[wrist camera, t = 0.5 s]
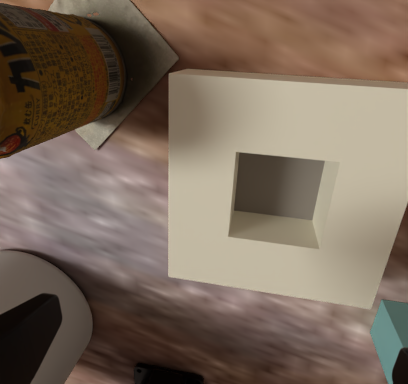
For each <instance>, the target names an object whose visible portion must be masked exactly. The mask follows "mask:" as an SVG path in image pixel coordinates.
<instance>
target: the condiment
mask: <svg viewBox="0 0 408 384" xmlns="http://www.w3.org/2000/svg"><path fill="white" fill-rule="evenodd" d="M95 12H98V13H99V15H98V16H94V15H93V13H95ZM87 14H91V15H92V16H91V17H88V16H87ZM178 59H179V57H178V56H177V55H176V53H175V52H174V51H173V50H172V49H171V48H170V47H169V45H168V44H167V43H166V41H165V40H164V39H163V38H162V37H161V36H160V35H159V33H158V32H157V31H156V30H155V29H154V28H153V27H152V26H151V24H150V23H149V22H148V21H147V20H146V18H145V17H144V16H143V15H142V14H141V13H140V12H139V10H138V9H137V8H136V7H135V6H134V5H133V4H132V3H131V1H130V0H54V2H53V3H52V5H51V6H50V8H49V10H48V11H46V10H41V9H32V8H25V7H20V6H13V5H8V4H4V3H0V159H1V158H7V157H10V156H11V155H13V154H15V153H18V152H20V151H22V150H25V149H27V148H30V147H32V146H35V145H38V144H40V143H43V142H45V141H48V140H50V139H53V138H55V137H58V136H60V135H62V134H65V133H67V132H70V131H72V130H75V131H76V132H77V133H78V134H79V135H80V136H81V137H82V138H83V139H84V140H85V141H86V142H87V143H88V144H89V145H90V146H91V147H92V148H93V149H94V150H96V149H97V148H98V147H99V146H100V145H101V144H102V143H103V141H104V140H105V139H106V138H107V137H108V136H109V135H110V134H111V133H112V132H113V131H114V129H115V128H116V127H117V126H118V125H119V124H120V123H121V122H122V121H123V120H124V119H125V117H126V116H127V115H128V114H129V113H130V112H131V111H132V110H133V109H134V108H135V107H136V105H137V104H138V103H139V102H140V101H141V100H142V98H143V97H144V96H145V95H146V94H147V93H148V92H149V91H150V90H151V89H152V88H153V87H154V86H155V85H156V84H157V83H158V81H159V80H160V79H161V78H162V77H163V76H164V74H165V73H166V72H167V71H168V70H169V69H170V68H171V67H172V66H173V65H174V63H175V62H176V61H177V60H178ZM131 78H133V81H132V80H131Z"/></svg>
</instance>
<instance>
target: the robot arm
mask: <svg viewBox="0 0 408 384" xmlns="http://www.w3.org/2000/svg"><path fill="white" fill-rule="evenodd" d="M61 323H62V311H61V306H60V301H59V297H58V296H57V295H56V294H51V293H41V294H39V295H37V296H35V297H33V298H31V299H29V300H27V301H25V302H23V303H22V304H20V305H18V306H16V307H14V308H12V309H10V310H8V311H6V312H4V313H2V314H0V384H31V382H32V380H33V379H34V377H35V375H36V373H37V371H38V369H39V367H40V365H41V363H42V361H43V360H44V358H45V356H46V354H47V352H48V350H49V348H50V346H51V344H52V342H53V340H54V338H55V336H56V334H57V332H58V330H59V328H60V326H61ZM134 379H135V384H204V378H203V377H202V376H200V375H195V374H190V373H185V372H180V371H176V370H171V369H166V368H161V367H156V366H151V365H146V364H141V363H138V364H136V365H135V368H134ZM392 381H393V384H408V348H407V347H403V348H401V349H400V351H399V353H398V356H397V359H396V362H395V364H394V367H393V370H392Z"/></svg>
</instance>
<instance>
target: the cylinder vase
mask: <svg viewBox="0 0 408 384" xmlns="http://www.w3.org/2000/svg"><path fill="white" fill-rule="evenodd" d="M41 293H51V294H56V295H57V296H58V297H59V301H60V306H61V311H62V323H61V326H60V328H59V330H58V332H57V334H56V336H55V338H54V340H53V342H52V344H51V346H50V348H49V350H48V352H47V354H46V356H45V358H44V360H43V361H42V363H41V365H40V367H39V369H38V371H37V373H36V375H35V377H34V379H33V380H32V382H31V384H64V383H65V381H66V380H67V378H68V377H69V375H70V373H71V372H72V370H73V368H74V367H75V365H76V363H77V362H78V360H79V358H80V357H81V355H82V354H83V352H84V350H85V349H86V347H87V345H88V343H89V341H90V339H91V335H92V330H93V320H92V314H91V310H90V307H89V305H88V302H87V300H86V298H85V297H84V295H83V293H82V292H81V290H80V289H79V288H78V287H77V285H76V284H75V283H74V282H73V281H72V280H71V279H70V278H69V277H68V276H67V275H66V274H65V273H64V272H62V271H61V270H60V269H58V268H57V267H55V266H54V265H52V264H51V263H49V262H47V261H45V260H43V259H41V258H39V257H36V256H34V255H31V254H28V253H24V252H19V251H11V250H0V314H2V313H4V312H6V311H8V310H10V309H12V308H14V307H16V306H18V305H20V304H22V303H23V302H25V301H27V300H29V299H31V298H33V297H35V296H37V295H39V294H41Z"/></svg>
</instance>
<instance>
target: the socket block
mask: <svg viewBox="0 0 408 384" xmlns="http://www.w3.org/2000/svg"><path fill="white" fill-rule="evenodd" d="M407 203H408V83H407V82H391V81H375V80H359V79H344V78H328V77H312V76H296V75H280V74H264V73H248V72H232V71H217V70H201V69H185V70H181V71H177V72H172V73H169V190H168V277H173V278H179V279H185V280H192V281H198V282H204V283H210V284H217V285H223V286H229V287H235V288H242V289H248V290H254V291H260V292H266V293H273V294H279V295H285V296H291V297H298V298H304V299H310V300H316V301H323V302H329V303H335V304H341V305H347V306H354V307H360V308H366V309H371V308H372V305H373V302H374V299H375V296H376V293H377V290H378V287H379V284H380V282H381V279H382V276H383V273H384V270H385V267H386V264H387V261H388V258H389V255H390V253H391V250H392V247H393V244H394V241H395V238H396V235H397V232H398V229H399V226H400V223H401V221H402V218H403V215H404V212H405V209H406V206H407Z"/></svg>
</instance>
